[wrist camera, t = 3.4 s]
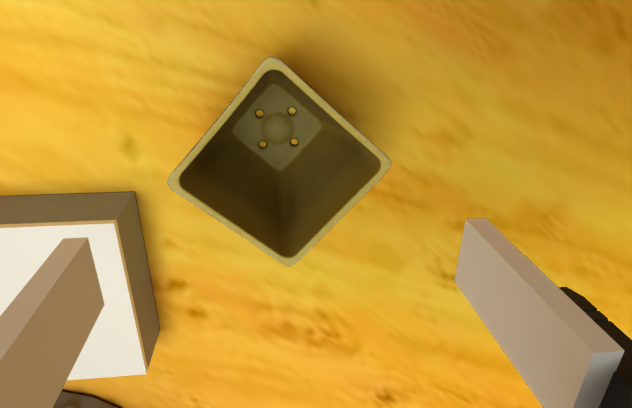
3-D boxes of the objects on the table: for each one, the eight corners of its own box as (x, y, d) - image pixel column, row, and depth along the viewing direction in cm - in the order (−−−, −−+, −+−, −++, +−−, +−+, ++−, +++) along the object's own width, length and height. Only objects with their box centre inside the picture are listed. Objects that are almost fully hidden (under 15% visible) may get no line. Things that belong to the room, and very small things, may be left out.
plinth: (-58, 198, 30) (-114, 232, 25) (134, 191, 31) (113, 223, 27) (-2, 339, 36) (-39, 388, 31) (160, 328, 37) (146, 374, 33)
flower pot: (282, 206, 33) (290, 271, 25) (188, 136, 30) (162, 185, 22) (360, 122, 31) (395, 164, 23) (268, 36, 28) (271, 51, 20)
